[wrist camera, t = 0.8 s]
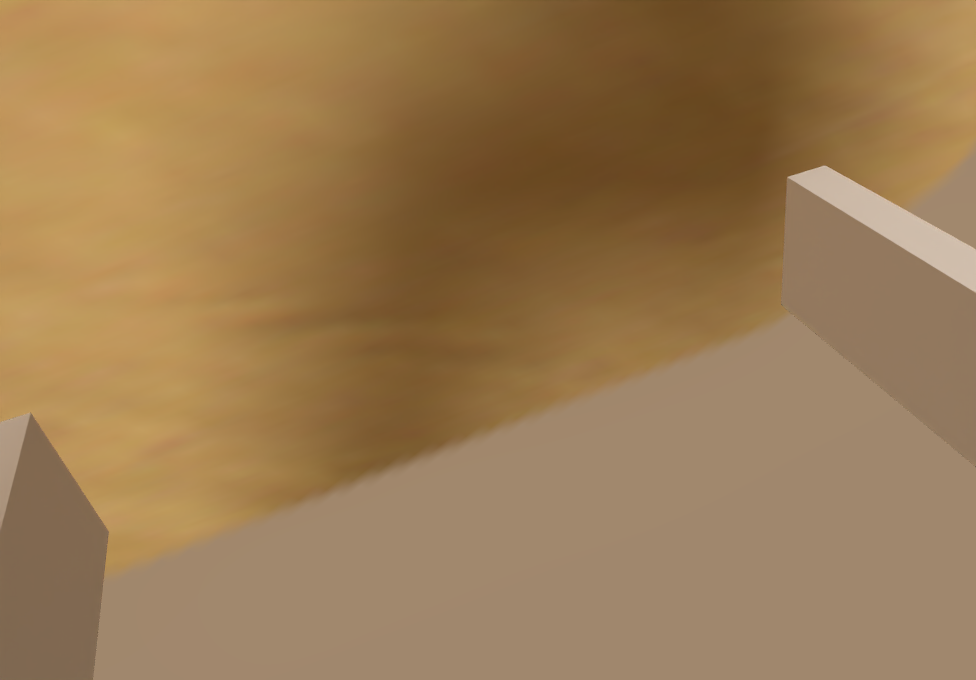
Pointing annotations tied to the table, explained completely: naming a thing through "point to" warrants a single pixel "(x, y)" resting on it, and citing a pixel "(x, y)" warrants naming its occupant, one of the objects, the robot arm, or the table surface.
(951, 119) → the table surface
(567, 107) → the table surface
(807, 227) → the robot arm
